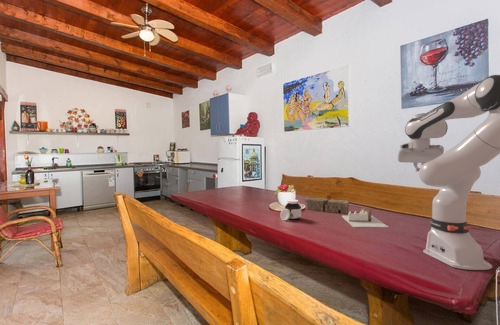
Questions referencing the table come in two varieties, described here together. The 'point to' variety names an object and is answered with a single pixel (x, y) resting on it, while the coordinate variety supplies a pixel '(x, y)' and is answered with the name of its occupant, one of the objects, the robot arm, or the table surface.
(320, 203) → the grey stone bar
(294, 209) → the spread jar
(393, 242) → the table surface
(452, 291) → the table surface
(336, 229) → the table surface
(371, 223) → the card
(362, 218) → the fence gate
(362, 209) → the fence fixed
